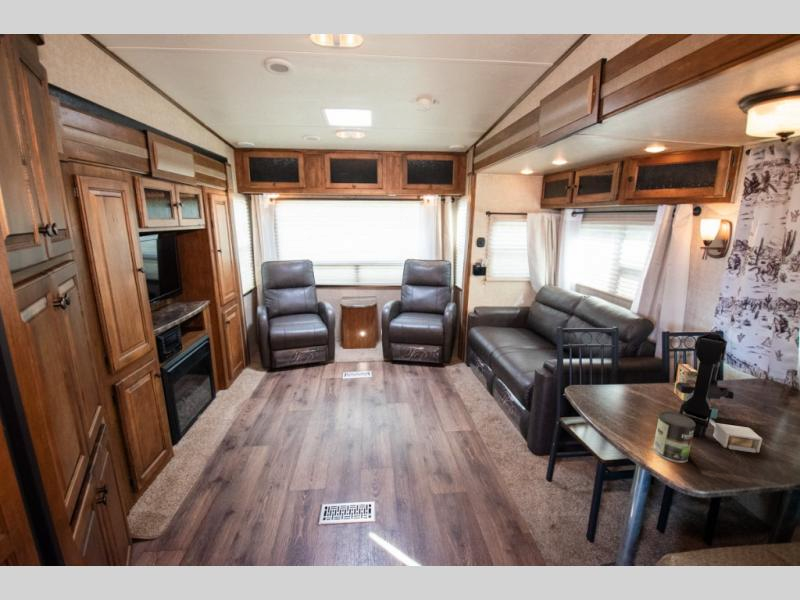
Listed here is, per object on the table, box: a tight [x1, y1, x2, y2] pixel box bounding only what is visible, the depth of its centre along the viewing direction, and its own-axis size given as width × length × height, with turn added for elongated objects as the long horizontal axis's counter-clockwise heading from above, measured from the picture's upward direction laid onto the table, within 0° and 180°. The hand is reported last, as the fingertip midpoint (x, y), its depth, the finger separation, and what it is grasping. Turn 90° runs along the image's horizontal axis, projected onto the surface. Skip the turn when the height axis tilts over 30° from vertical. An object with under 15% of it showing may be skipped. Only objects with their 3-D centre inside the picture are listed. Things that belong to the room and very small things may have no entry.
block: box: [727, 436, 753, 448], centre depth 127 cm, size 6×6×4 cm
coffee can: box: [652, 410, 696, 464], centre depth 122 cm, size 10×10×14 cm
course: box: [712, 422, 763, 453], centre depth 127 cm, size 10×24×7 cm, turn 163°
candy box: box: [673, 363, 698, 402], centre depth 163 cm, size 9×4×15 cm, turn 165°
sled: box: [706, 407, 757, 454], centre depth 134 cm, size 8×24×5 cm, turn 163°
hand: (700, 407), depth 150 cm, fingers closed
